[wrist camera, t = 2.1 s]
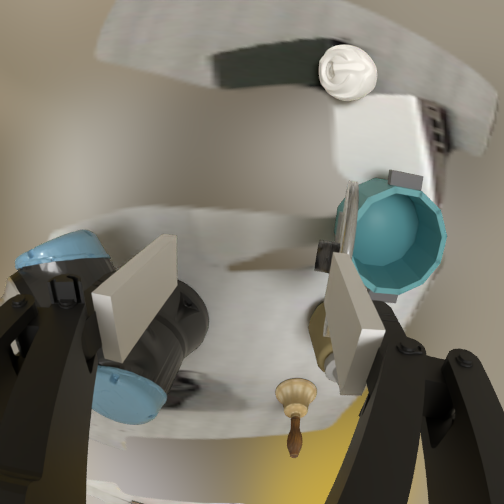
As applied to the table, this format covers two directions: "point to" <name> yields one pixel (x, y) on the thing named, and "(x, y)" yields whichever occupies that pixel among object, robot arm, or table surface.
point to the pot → (395, 235)
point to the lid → (340, 237)
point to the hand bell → (295, 408)
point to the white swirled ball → (347, 72)
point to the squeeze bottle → (322, 344)
